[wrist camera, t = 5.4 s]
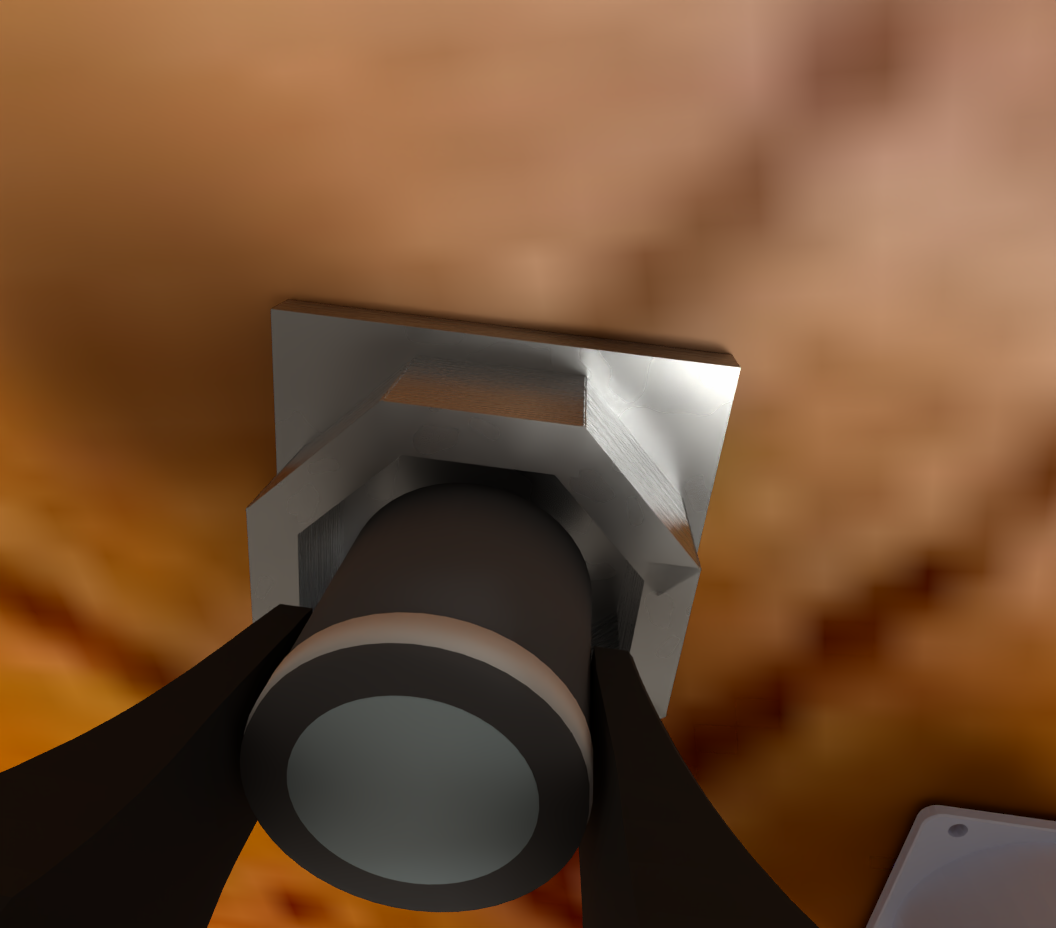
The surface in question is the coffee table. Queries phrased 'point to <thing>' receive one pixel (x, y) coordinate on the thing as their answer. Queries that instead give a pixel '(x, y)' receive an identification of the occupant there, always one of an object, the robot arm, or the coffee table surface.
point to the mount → (496, 454)
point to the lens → (435, 708)
